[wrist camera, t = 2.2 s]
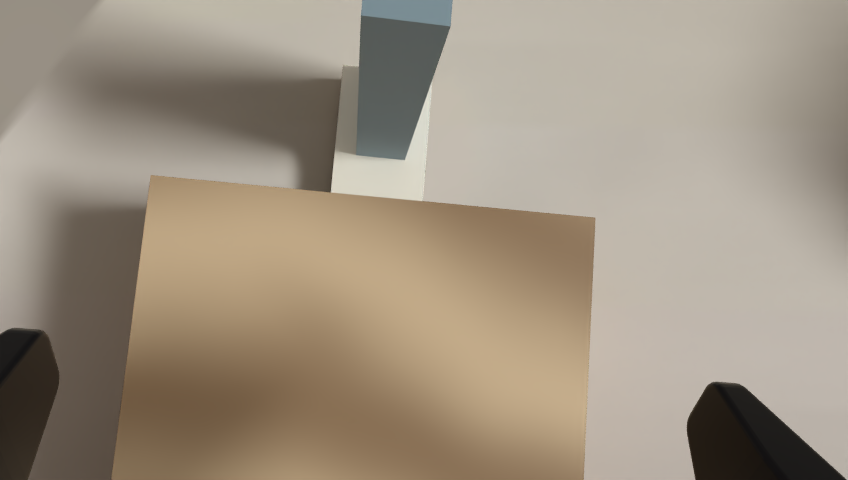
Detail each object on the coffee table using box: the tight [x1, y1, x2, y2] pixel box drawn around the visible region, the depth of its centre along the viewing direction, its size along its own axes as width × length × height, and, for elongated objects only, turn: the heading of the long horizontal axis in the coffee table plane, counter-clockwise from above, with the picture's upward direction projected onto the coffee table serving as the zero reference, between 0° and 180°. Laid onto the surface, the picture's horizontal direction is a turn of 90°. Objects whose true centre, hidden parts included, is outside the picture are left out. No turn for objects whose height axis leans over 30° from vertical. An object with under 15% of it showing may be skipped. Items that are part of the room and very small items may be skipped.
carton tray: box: [331, 0, 452, 201], centre depth 17 cm, size 17×10×11 cm, turn 176°
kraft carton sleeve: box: [111, 175, 595, 480], centre depth 20 cm, size 13×12×5 cm
